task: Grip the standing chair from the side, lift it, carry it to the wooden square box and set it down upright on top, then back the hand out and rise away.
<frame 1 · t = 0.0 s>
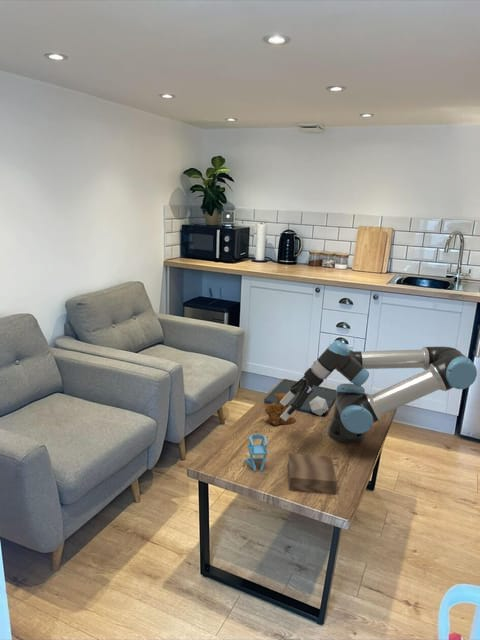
hand: (282, 411, 189), 15 cm above the table, tool tilted 35°, fingers open, 13 cm apart
die: (318, 413, 224), on the table
wooden square box: (310, 478, 170), on the table
chair: (256, 466, 177), on the table
stuffed squirrel: (278, 422, 213), on the table
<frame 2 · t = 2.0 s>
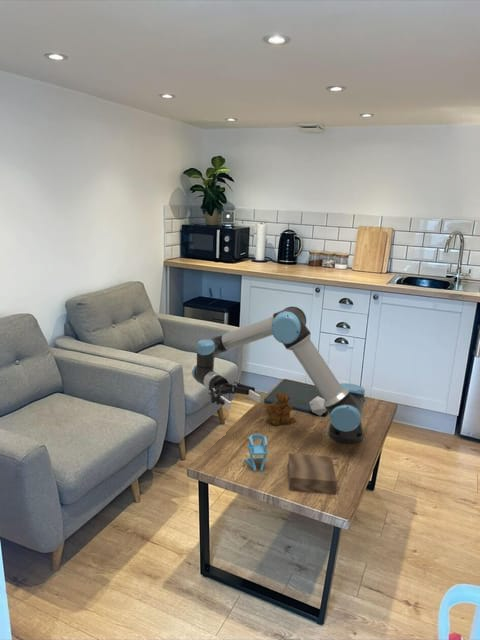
hand: (245, 402, 179), 22 cm above the table, tool horizontal, fingers open, 13 cm apart
nothing on the table moved.
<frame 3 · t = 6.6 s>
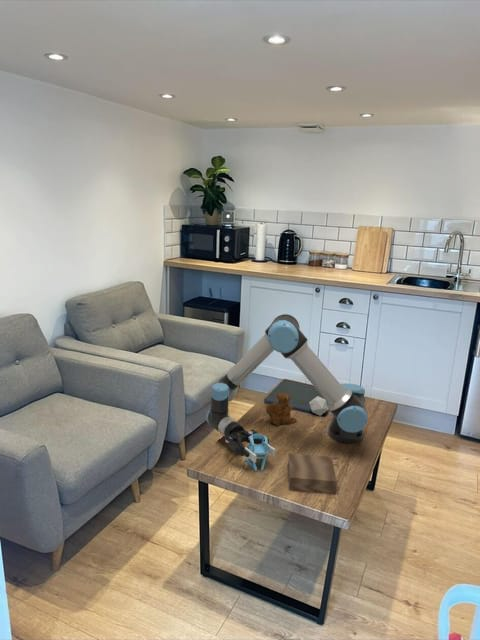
hand: (265, 455, 172), 7 cm above the table, tool horizontal, fingers closed on chair, 8 cm apart
chair: (256, 465, 177), on the table, touching gripper
everything else where it was.
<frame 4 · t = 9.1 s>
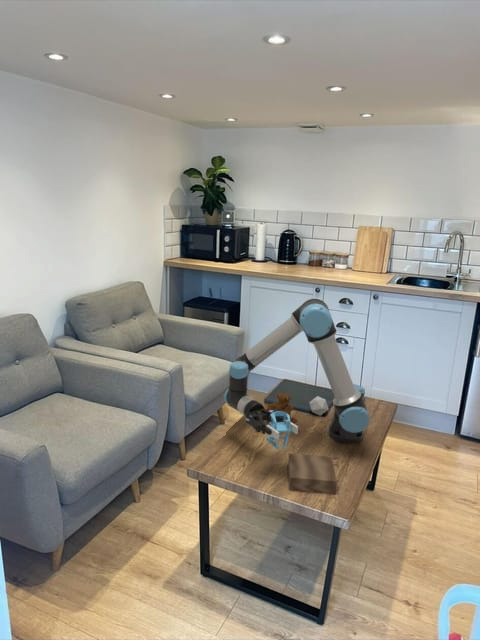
hand: (287, 433, 166), 18 cm above the table, tool horizontal, fingers closed on chair, 8 cm apart
chair: (278, 444, 171), point 11 cm above the table, touching gripper
everything else where it was.
when the fingers open (13 cm above the table, at t = 11.4 s): chair drops 1 cm, resting on wooden square box.
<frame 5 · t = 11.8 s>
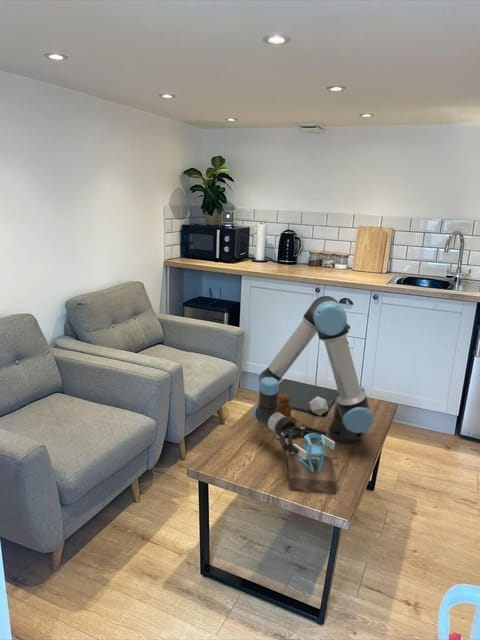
hand: (320, 450, 164), 13 cm above the table, tool horizontal, fingers open, 13 cm apart
chair: (312, 466, 169), point 5 cm above the table, touching wooden square box
everything else where it was.
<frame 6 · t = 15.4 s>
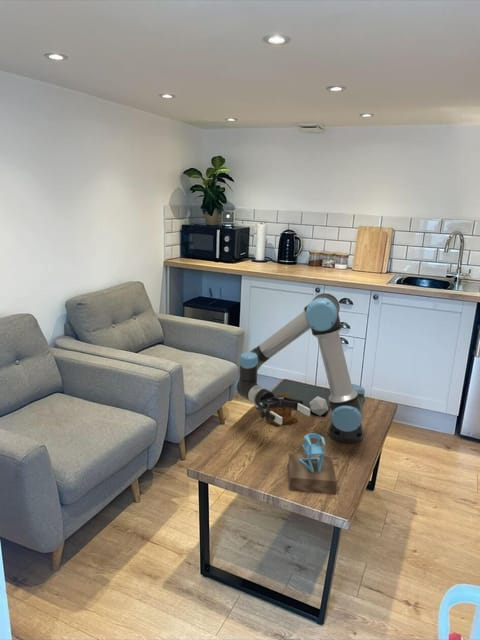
hand: (295, 417, 173), 20 cm above the table, tool horizontal, fingers open, 13 cm apart
nothing on the table moved.
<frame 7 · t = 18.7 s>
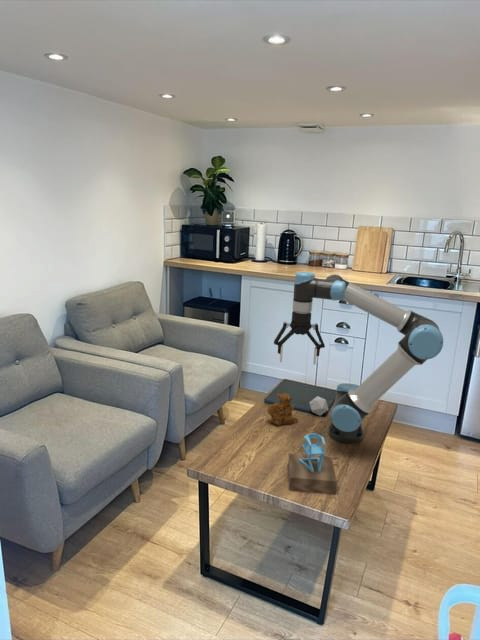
hand: (297, 362, 189), 35 cm above the table, tool pointing down, fingers open, 13 cm apart
at the end: chair inside the target area on the wooden square box (0.3 cm from its centre), point 4.8 cm above the wooden square box's base; chair tilted 0°; the gripper is holding nothing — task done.
